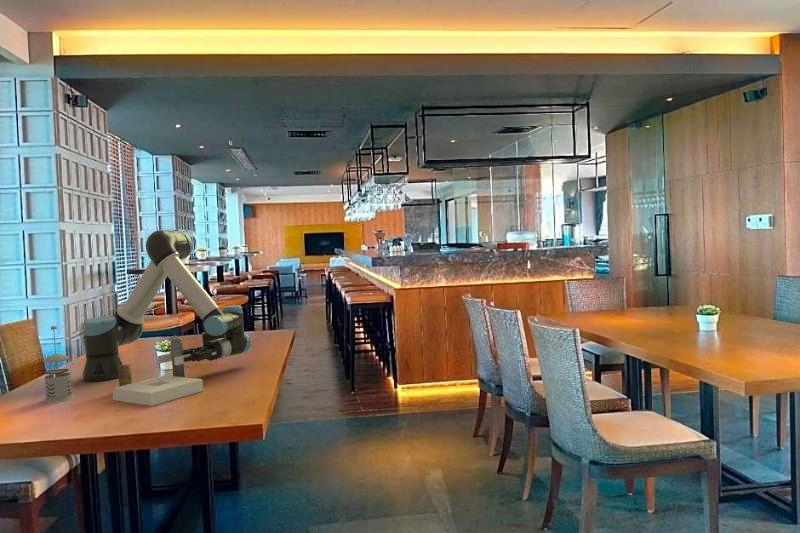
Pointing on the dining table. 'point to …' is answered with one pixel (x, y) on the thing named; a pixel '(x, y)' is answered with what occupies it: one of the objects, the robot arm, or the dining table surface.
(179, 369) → the metal pin
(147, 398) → the hole plate
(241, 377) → the dining table surface
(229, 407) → the dining table surface
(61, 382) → the french press
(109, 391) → the dining table surface
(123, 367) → the walnut pin
